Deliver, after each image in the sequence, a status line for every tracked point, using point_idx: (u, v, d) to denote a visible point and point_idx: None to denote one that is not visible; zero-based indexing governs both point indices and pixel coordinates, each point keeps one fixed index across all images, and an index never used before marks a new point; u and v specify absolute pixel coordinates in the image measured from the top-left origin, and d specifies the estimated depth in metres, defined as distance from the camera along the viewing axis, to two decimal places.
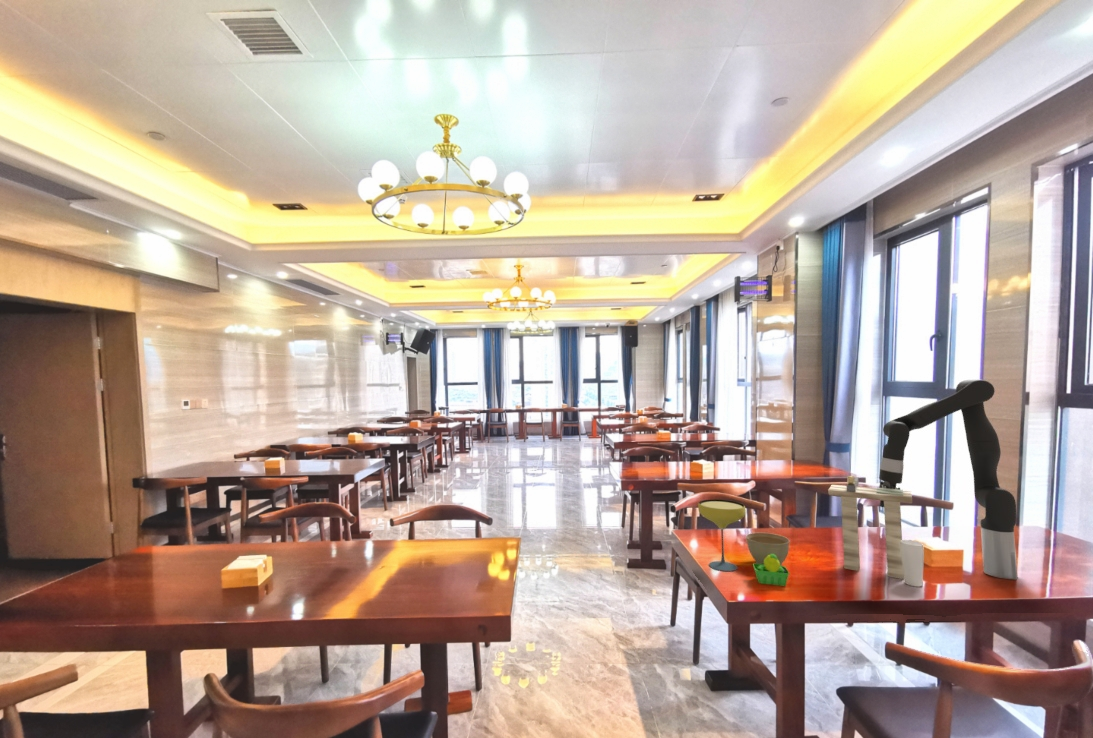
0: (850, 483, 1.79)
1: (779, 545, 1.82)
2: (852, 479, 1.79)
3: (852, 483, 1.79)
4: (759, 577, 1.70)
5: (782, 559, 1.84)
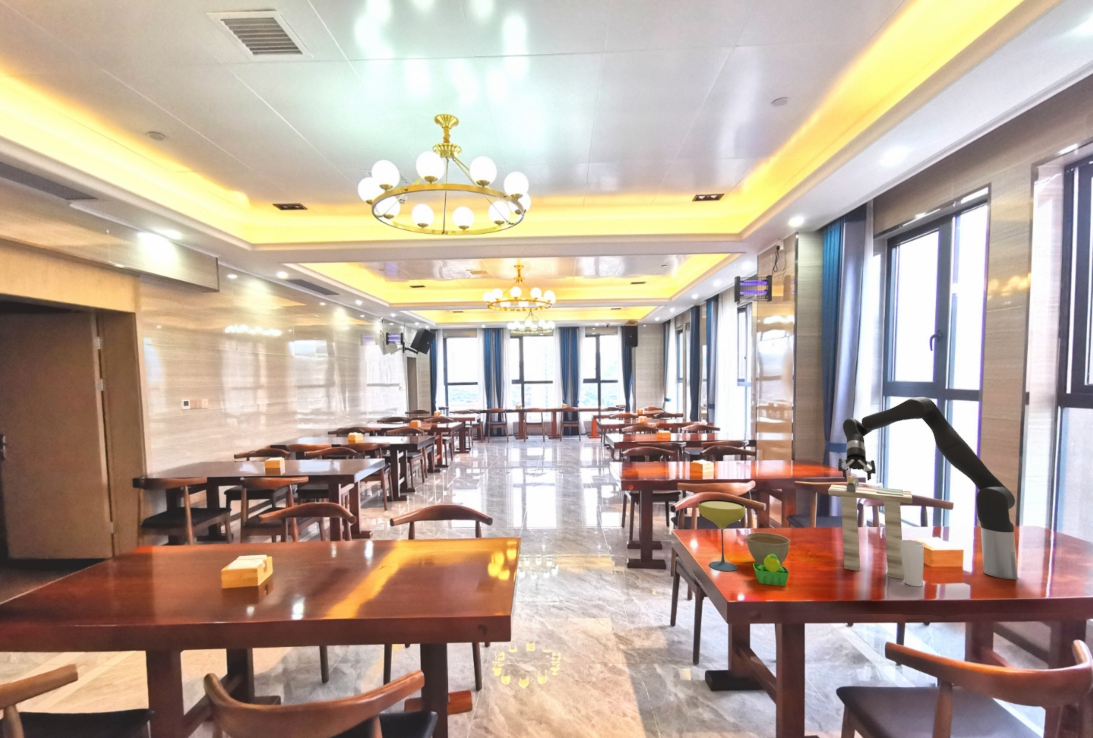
0: (850, 483, 1.79)
1: (779, 545, 1.82)
2: (852, 479, 1.79)
3: (852, 483, 1.79)
4: (759, 577, 1.70)
5: (782, 559, 1.84)
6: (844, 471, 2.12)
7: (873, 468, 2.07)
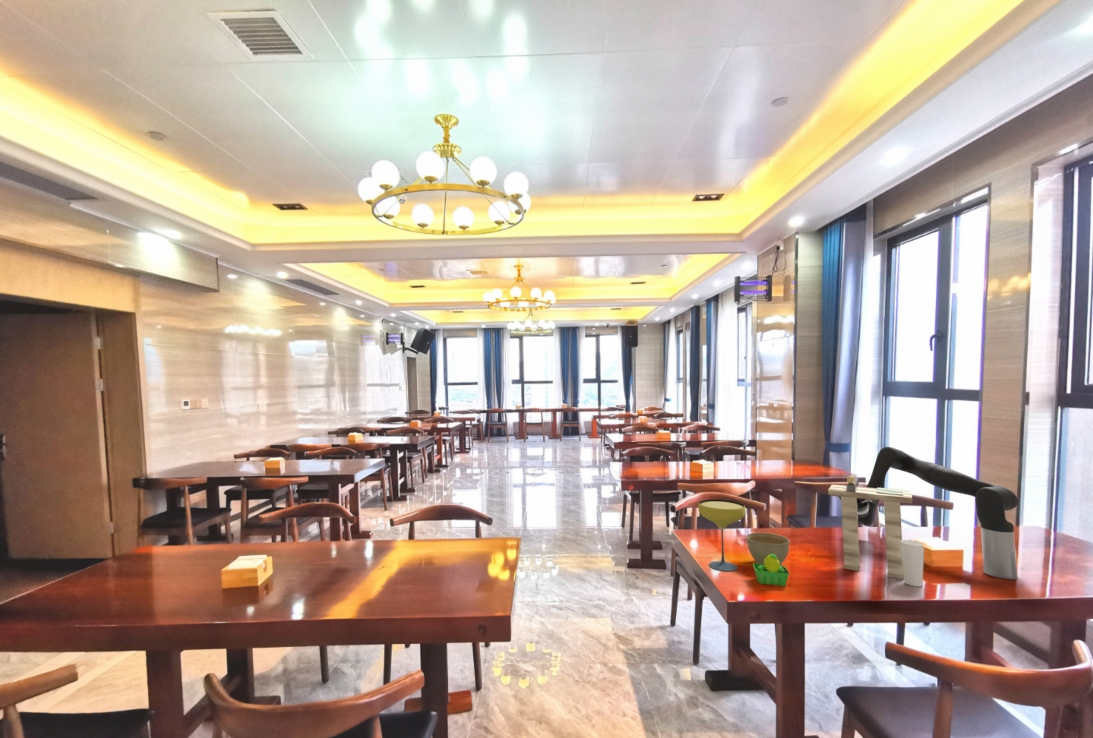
0: (850, 483, 1.79)
1: (779, 545, 1.82)
2: (852, 479, 1.79)
3: (852, 483, 1.79)
4: (759, 577, 1.70)
5: (782, 559, 1.84)
6: None
7: None
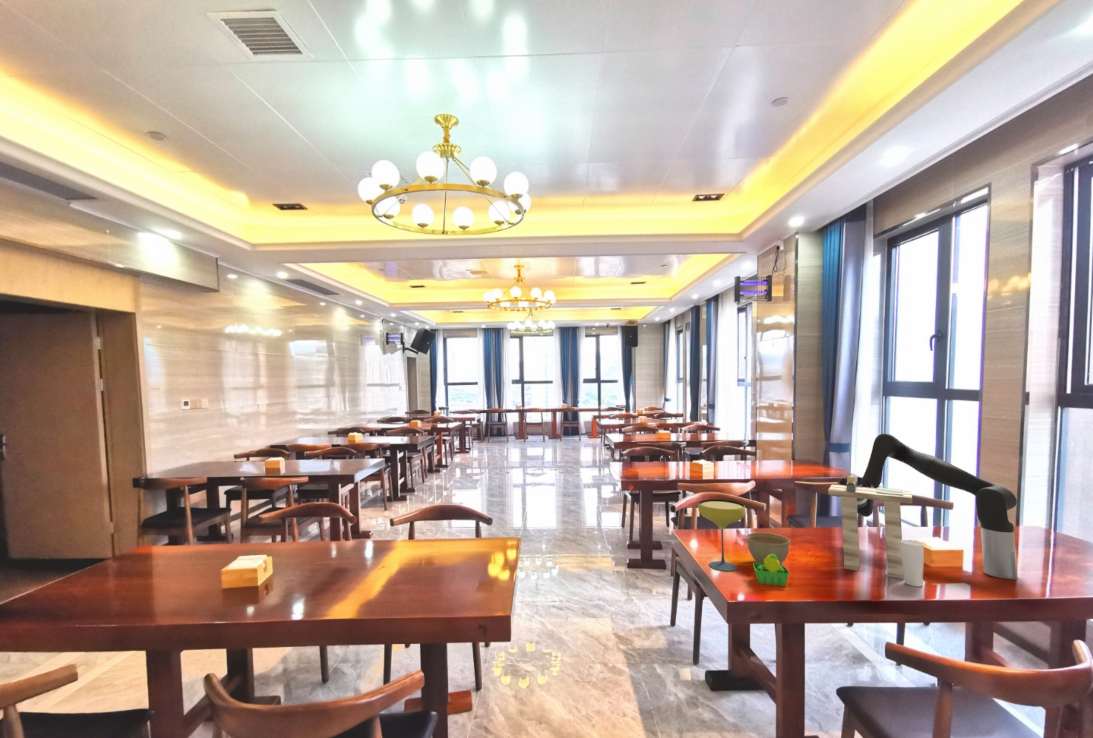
0: (850, 483, 1.79)
1: (779, 545, 1.82)
2: (852, 479, 1.79)
3: (852, 483, 1.79)
4: (759, 577, 1.70)
5: (782, 559, 1.84)
6: None
7: None
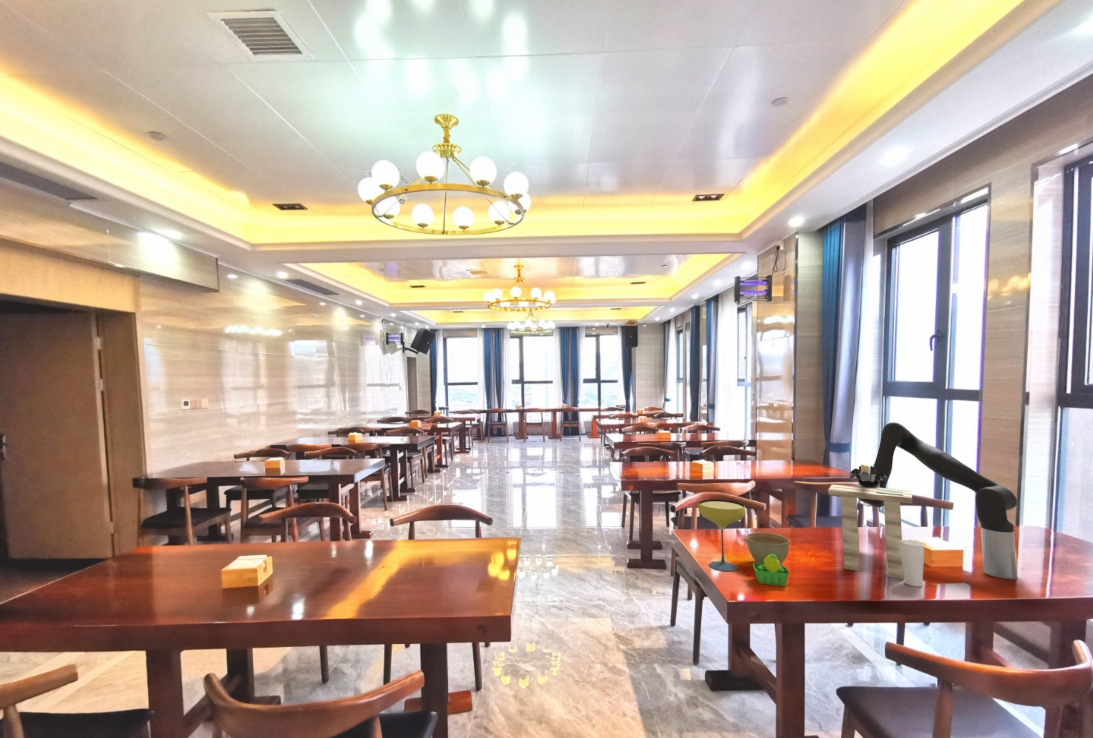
0: (864, 472, 1.76)
1: (779, 545, 1.82)
2: (866, 468, 1.76)
3: (866, 472, 1.76)
4: (759, 577, 1.70)
5: (782, 559, 1.84)
6: None
7: None
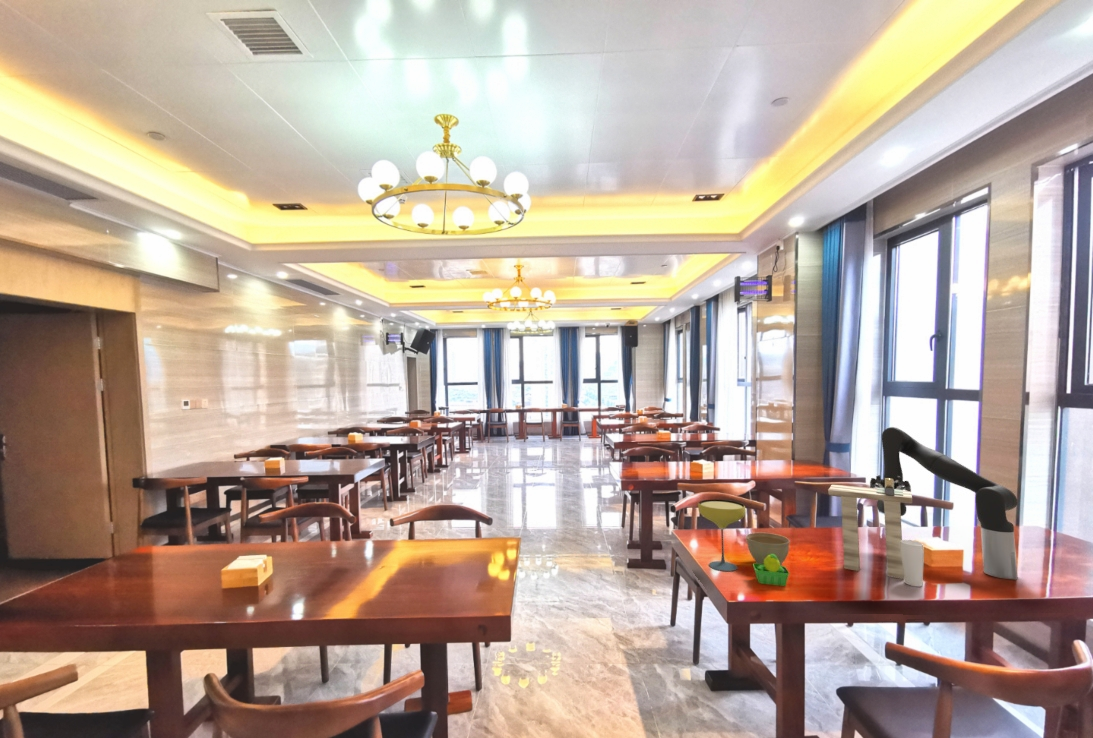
0: (888, 486, 1.71)
1: (779, 545, 1.82)
2: (891, 482, 1.71)
3: (891, 486, 1.71)
4: (759, 577, 1.70)
5: (782, 559, 1.84)
6: None
7: None
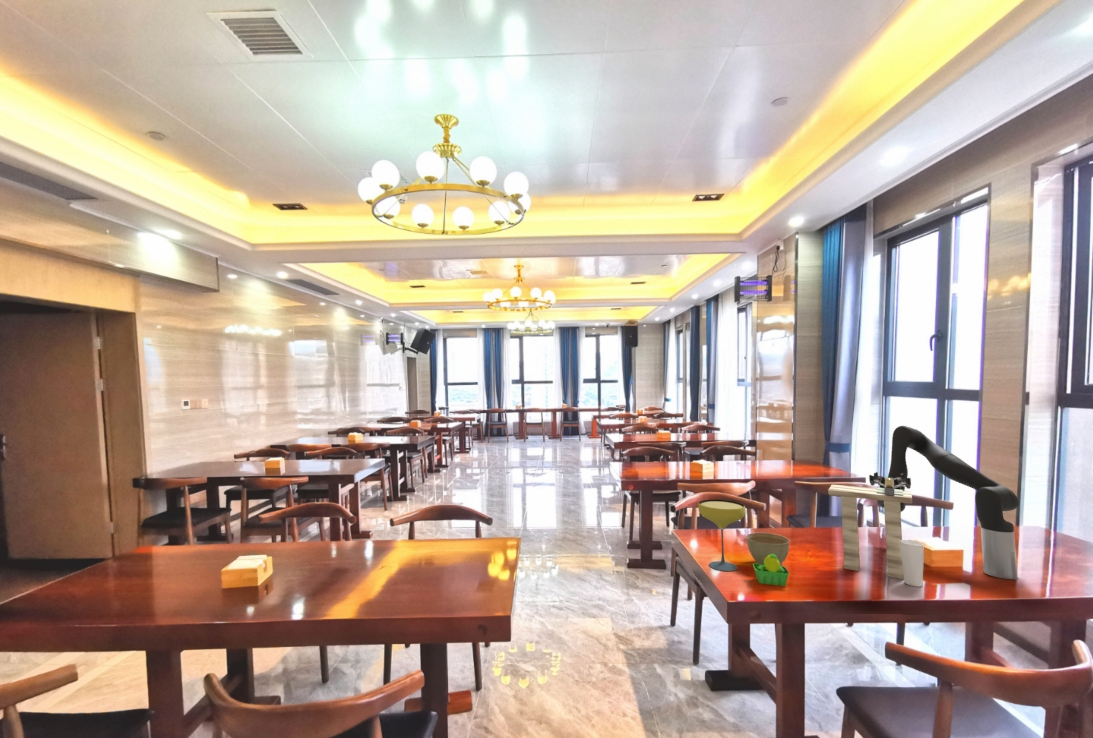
0: (888, 486, 1.71)
1: (779, 545, 1.82)
2: (891, 482, 1.71)
3: (891, 486, 1.71)
4: (759, 577, 1.70)
5: (782, 559, 1.84)
6: None
7: None
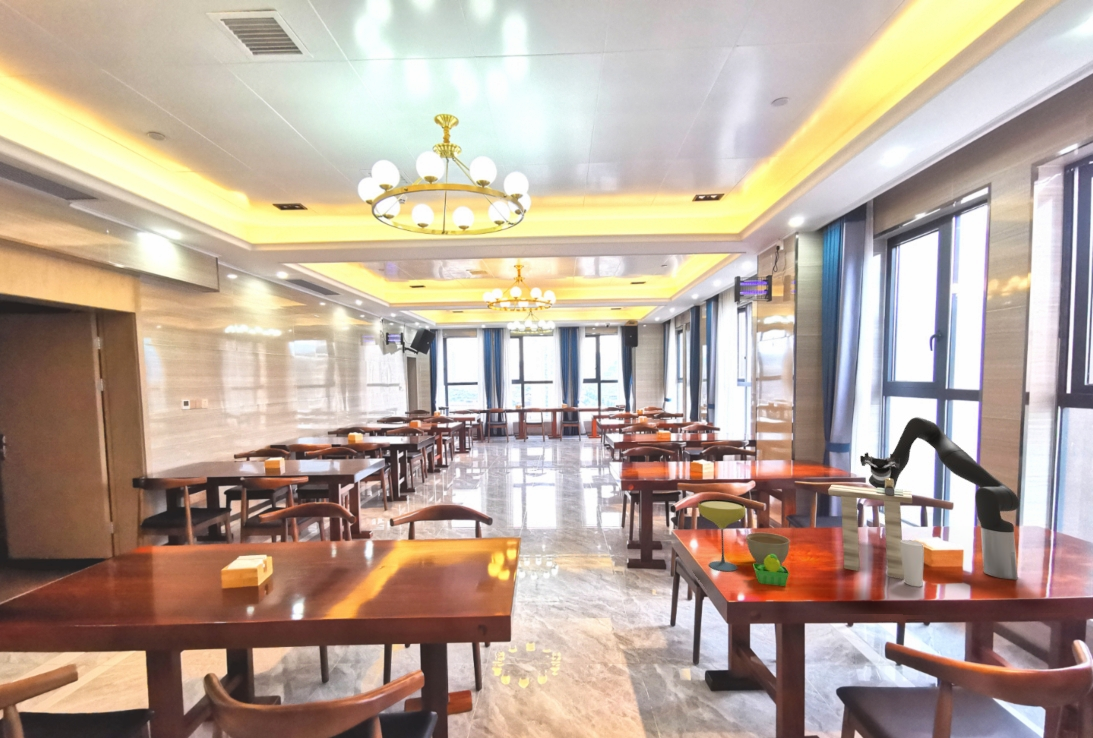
0: (888, 486, 1.71)
1: (779, 545, 1.82)
2: (891, 482, 1.71)
3: (891, 486, 1.71)
4: (759, 577, 1.70)
5: (782, 559, 1.84)
6: None
7: None
